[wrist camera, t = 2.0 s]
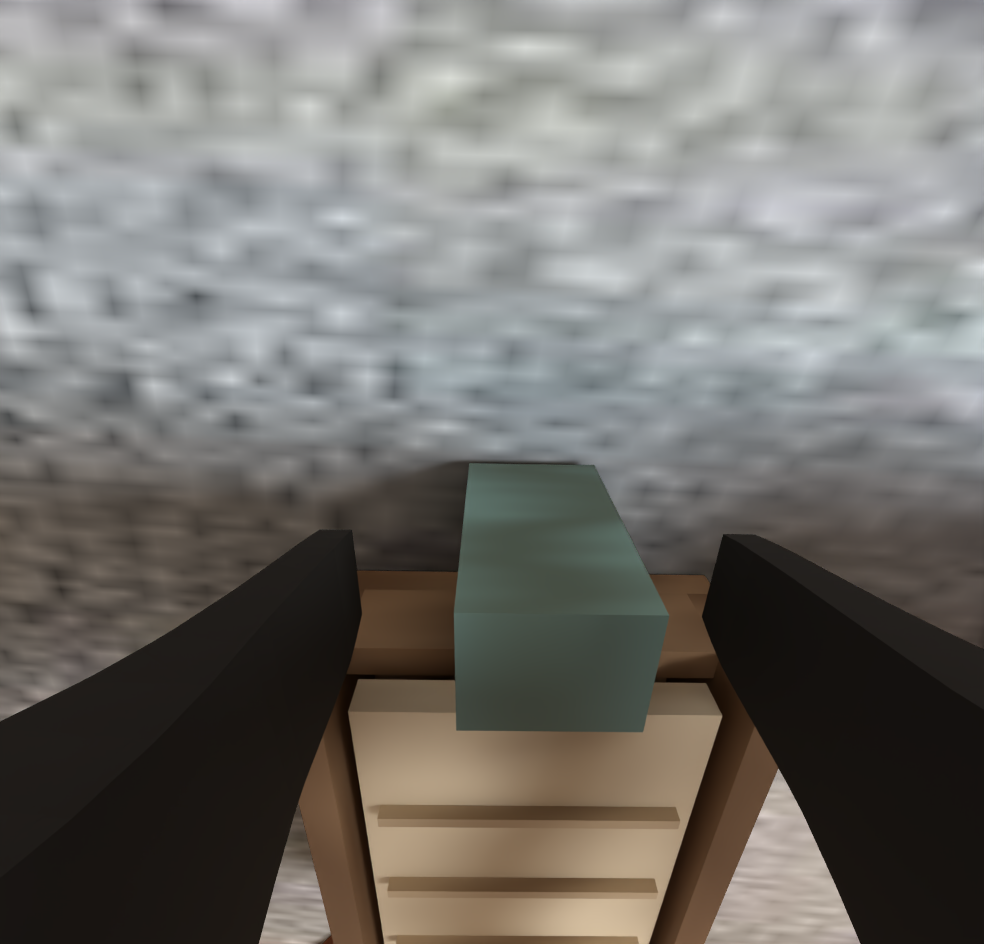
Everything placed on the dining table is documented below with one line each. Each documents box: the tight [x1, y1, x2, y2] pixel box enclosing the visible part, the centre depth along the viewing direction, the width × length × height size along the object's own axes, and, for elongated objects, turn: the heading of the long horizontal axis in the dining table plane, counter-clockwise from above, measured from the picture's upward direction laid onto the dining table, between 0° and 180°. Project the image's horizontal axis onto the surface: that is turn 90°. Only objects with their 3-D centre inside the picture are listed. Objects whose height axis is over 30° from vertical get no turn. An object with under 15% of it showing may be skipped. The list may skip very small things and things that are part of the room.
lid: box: [348, 463, 722, 944], centre depth 12 cm, size 8×16×5 cm, turn 179°
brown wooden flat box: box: [298, 571, 778, 944], centre depth 14 cm, size 10×14×4 cm
